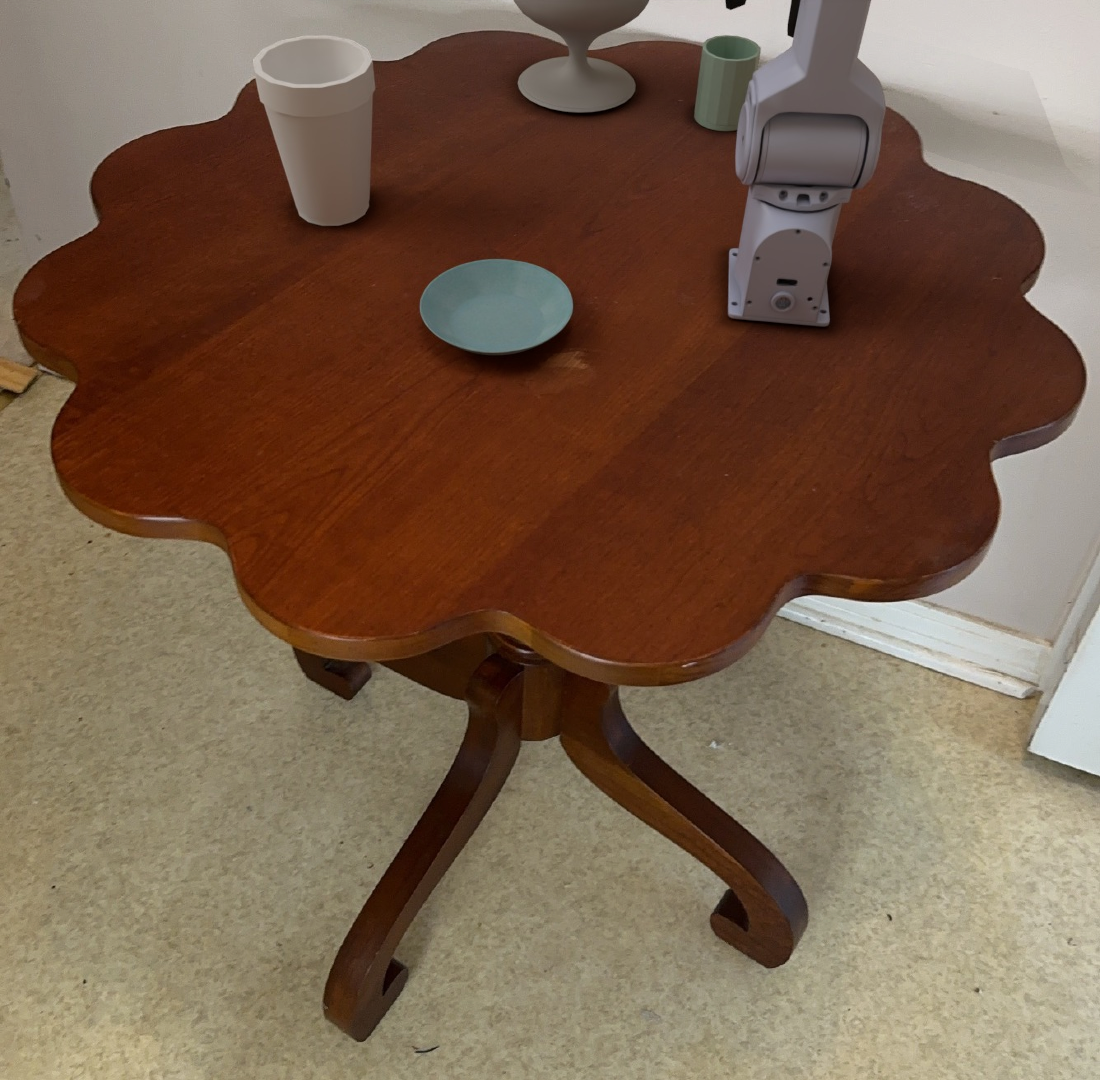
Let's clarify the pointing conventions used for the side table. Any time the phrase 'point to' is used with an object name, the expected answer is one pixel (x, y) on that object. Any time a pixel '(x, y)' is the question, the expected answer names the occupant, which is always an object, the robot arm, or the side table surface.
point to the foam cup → (321, 122)
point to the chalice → (578, 55)
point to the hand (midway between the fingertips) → (765, 20)
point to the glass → (724, 80)
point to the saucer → (496, 306)
